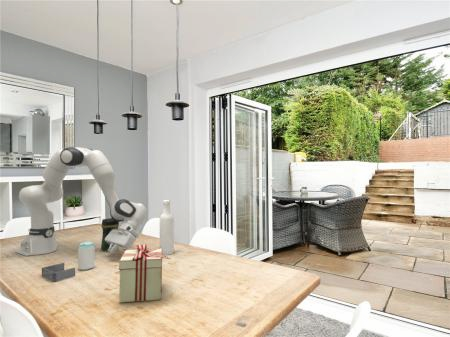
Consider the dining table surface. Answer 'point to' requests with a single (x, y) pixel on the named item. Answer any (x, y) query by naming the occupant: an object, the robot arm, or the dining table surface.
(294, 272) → the dining table surface
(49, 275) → the grey u-shaped bracket
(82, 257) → the can
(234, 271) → the dining table surface
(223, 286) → the dining table surface
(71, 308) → the dining table surface
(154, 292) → the gift box
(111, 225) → the coffee jar
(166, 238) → the bottle
